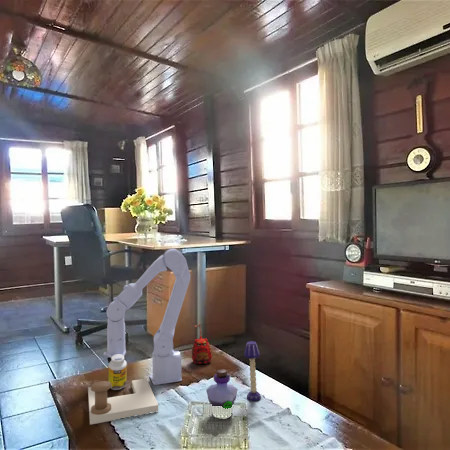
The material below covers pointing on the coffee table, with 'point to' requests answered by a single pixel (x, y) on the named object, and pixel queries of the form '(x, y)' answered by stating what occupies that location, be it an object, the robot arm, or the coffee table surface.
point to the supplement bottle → (117, 372)
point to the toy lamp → (252, 369)
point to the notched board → (120, 402)
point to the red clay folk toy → (201, 350)
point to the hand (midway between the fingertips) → (116, 379)
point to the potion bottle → (222, 390)
